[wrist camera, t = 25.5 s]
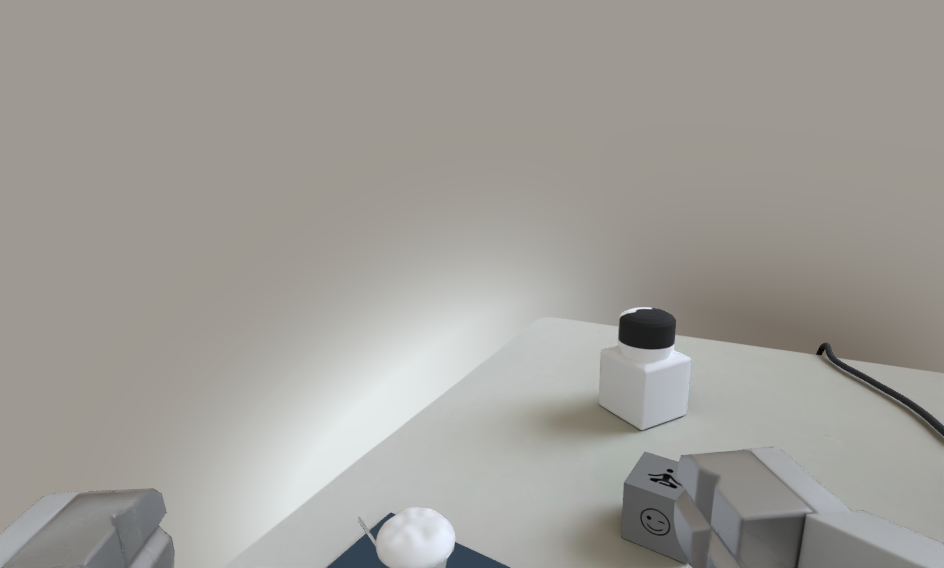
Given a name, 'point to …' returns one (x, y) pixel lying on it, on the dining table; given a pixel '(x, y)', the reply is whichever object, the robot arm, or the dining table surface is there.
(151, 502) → the robot arm
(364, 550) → the mat
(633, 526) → the dice cube
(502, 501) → the dining table surface
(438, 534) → the milkshake
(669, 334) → the medicine bottle
